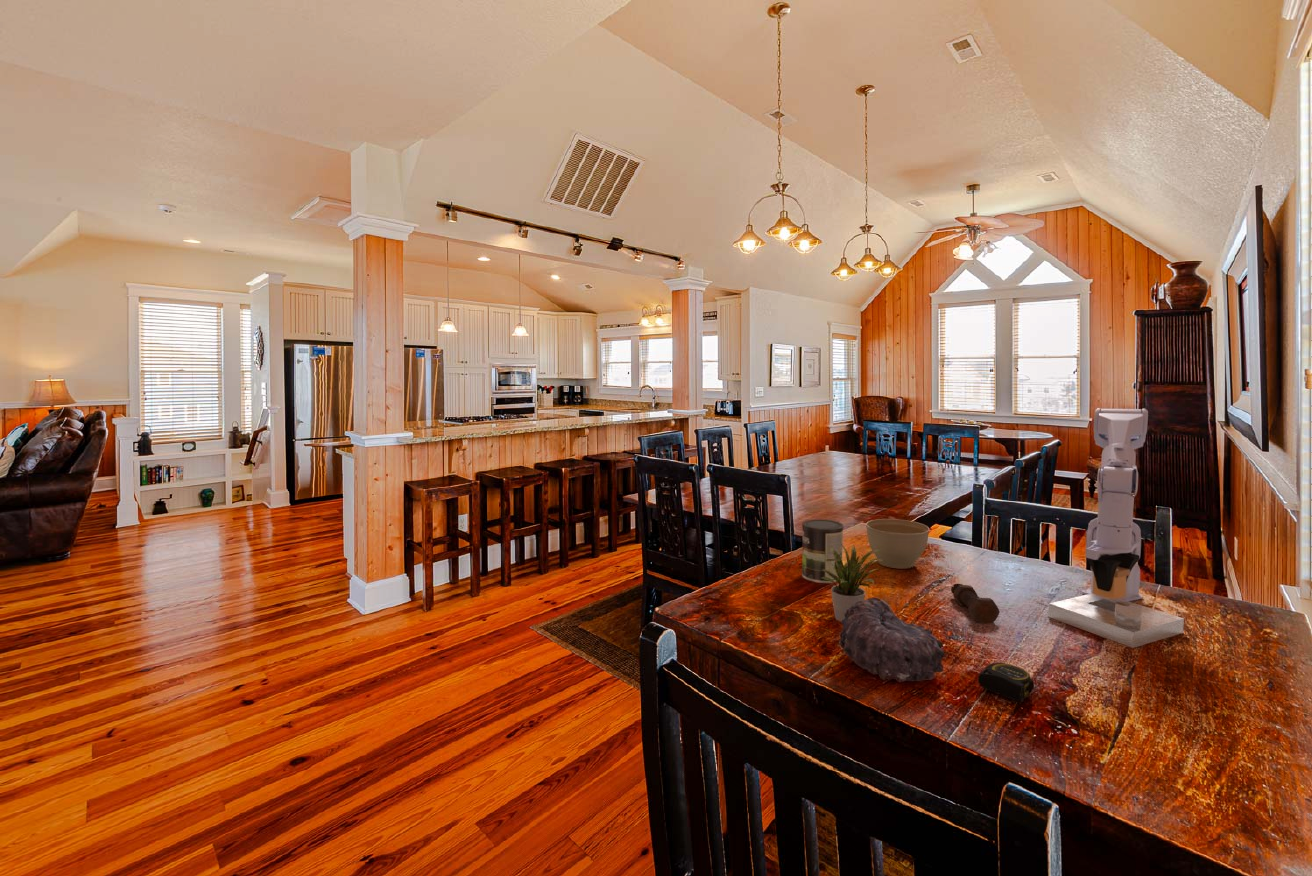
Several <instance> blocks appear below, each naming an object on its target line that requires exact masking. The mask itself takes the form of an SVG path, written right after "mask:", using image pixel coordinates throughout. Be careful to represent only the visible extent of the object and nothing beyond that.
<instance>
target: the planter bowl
mask: <svg viewBox="0 0 1312 876" xmlns="http://www.w3.org/2000/svg"><path fill="white" fill-rule="evenodd" d="M865 527H866V537H867V541H868V545H869V547H870V549H871V551H873V550H878V549H881V550H878V551H875V552H873V553H872V554H874V556H875V558H880V559H881V560H876V561H877V563H878V564H879V565H881V566H883V567H887V568H890V569H891V568H892V569H902V570H903V569H904V570H907V569H911V567H912V568H914V567H915V566H914V565H916V562H917V561H918V560H919V559H920V558H921V557H922V555H923V553H924V552H925V550H926V547H927V544H928V539H929V534H930V528H929V526H928V525H925V524H924V523H920V522H917V521H914V520H913V521H911V520H906V519H897V518H881V519H880V518H877V519H872V520H867V522H866V523H865ZM882 560H885V561H882ZM913 566H914V567H913Z"/></svg>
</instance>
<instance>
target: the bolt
mask: <svg viewBox="0 0 1312 876" xmlns="http://www.w3.org/2000/svg"><path fill="white" fill-rule="evenodd" d="M950 591H951V593H952V595H953V597H954V599H955V600H956V602H957V604H959V605H960V606H962V607H963V606H964V607H965V606H966V607H967V610H968V611H969V613H970V615H971V616H972V618H973V620H974V621H975V622H976V623H980V624H993V623H994V622H995V621H996V620H997V618H998V617H999V615H1000V609H999V608H998V606H997V604H996V602H995V601H994V600H993V599H992V598H991V597H980V596H978V593H977V592H976V590H975V589H974V587H973V586H972V585H970V584H969V585H968V584H962V583H954V584H953V585H952V586H951V588H950Z"/></svg>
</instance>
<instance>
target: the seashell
mask: <svg viewBox="0 0 1312 876" xmlns="http://www.w3.org/2000/svg"><path fill="white" fill-rule="evenodd" d="M844 615H845V618H844V619H843V620H842V622H841V624H842V629H841V631H840V632H839V633H838V635H839V636H840V639H839V644H838V645H839V646H840V648H842V649H843V652H844V653H845V654H846V655H847V657H848V658H849V659H851V660H853V662H854V664H856V665H857V666H859V667H860V668H861V669H862V670H867V672H868V673H870V674H871V675H872V676H874V675H875V676H877V675H878V676H879V678H880V679H881V680H882V681H886V680H887V679H893V680H896V681H897V682H898V683H903V682H905V681H906V682H922V681H929V680H930V681H931V680H933V679H934V677H935V673H942V672H944V665H943V663H942V659H944V658H945V657H946V653H945V650H944V649H943V648H944V645H943V642H942V641H939V639H938V637H937V636H935V635H933V630H932V629H929V628H927V629H925V628H924V627H925V626H923V625H921V624H920V625H918V626H917V625H916V624H915V623H909V622H906V621H904V620H902V619H900V618H899V617H898V616H897V615H896V614H895V612H894V611H893V609H892V607H891V606H890V604H889V603H888V602H887V601H885V600H883V599H881V598H879V597H874V596H873V597H872V598H870V597H869V598H866V599H864V601H857V602H856V603H855V604H854V605H852V606H851V608H848V609H847V611H846V613H844Z"/></svg>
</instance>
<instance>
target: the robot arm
mask: <svg viewBox="0 0 1312 876" xmlns="http://www.w3.org/2000/svg"><path fill="white" fill-rule="evenodd" d="M1148 419H1149V410H1148V409H1146V408H1142V409H1141V408H1140V409H1139V408H1101V407H1098V408H1096V409H1095V410H1094V418H1093V440H1094V441H1095V442H1094V443H1095V445H1096V446H1099V447H1100V448H1102V452H1101V459H1100V460H1101V461H1100V468H1098V471H1097V476H1096V477H1097V481H1096V491H1097V502H1098V505H1097V506H1098V507H1097V517H1096V518H1094V519H1091V520H1090V521H1089V522H1088V527H1087V531H1086V543H1085V545H1086V546H1085V547H1086V548H1085V556H1084V557H1085V560H1087V562H1088V564H1089V566H1090V569H1091V568H1092V570H1093V571H1091V578H1090V579H1091V580H1090V589H1085V590H1084V589H1083V590H1081V594H1083V595H1087V594H1091V593H1093V572H1094V576H1095V580H1096V584H1097V588H1098V589H1101V590H1104V591H1110V590H1111V587H1112V583H1113V577H1114V574H1115V571H1116V569H1117V567H1122V568H1126V569H1130V575H1128V576H1126V597H1123V598H1119V599H1122V600H1125V601H1129V602H1133V601H1137V600H1141V599H1143V598H1144V595H1142V594H1140V584H1141V583H1140V582H1141V569H1140V566H1139V564H1138V562H1139V561H1140V558H1141V550H1142V549H1141V548H1142V536H1141V535H1142V534H1141V528H1140V526H1139V525H1138V524H1137V523H1135V522H1134V521H1133V520H1134V506H1135V504H1134V503H1135V496H1137V493H1138V490H1139V489H1138V488H1139V487H1138V486H1139V472H1138V467H1137V465H1136V459H1137V458H1136V454H1137V453H1136V451H1135V450H1136V449H1140V448H1143V447H1144V443H1145V442H1146V437H1147V436H1146V435H1147V433H1148V422H1149V420H1148ZM1132 492H1133V493H1134V495H1133V493H1132Z"/></svg>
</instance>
